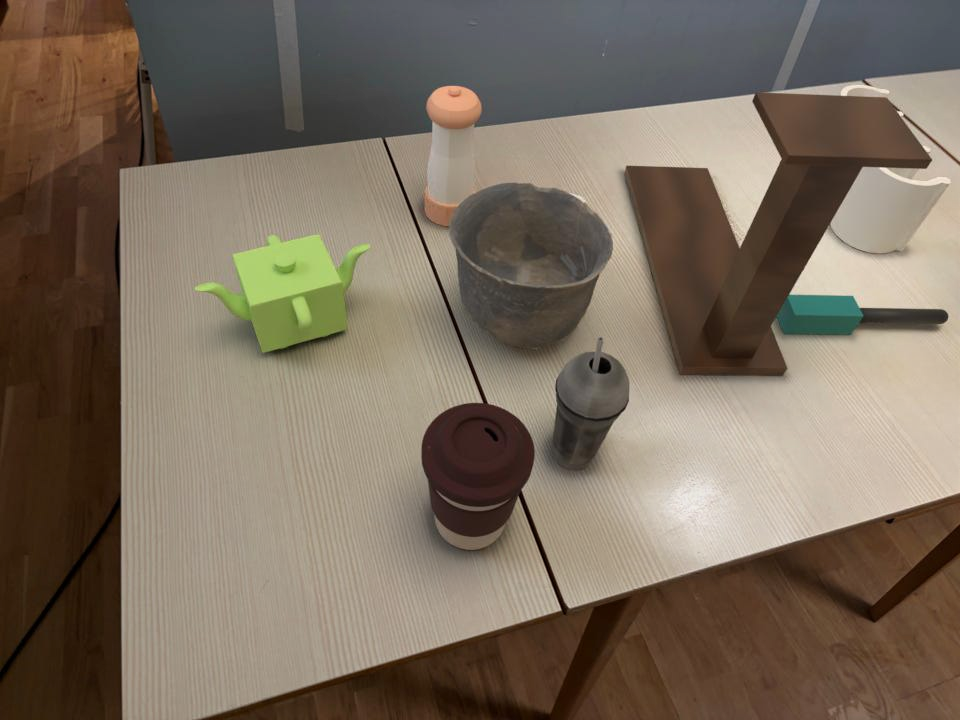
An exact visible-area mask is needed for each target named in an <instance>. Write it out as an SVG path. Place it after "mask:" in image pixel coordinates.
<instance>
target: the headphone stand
mask: <svg viewBox="0 0 960 720" xmlns="http://www.w3.org/2000/svg"><path fill="white" fill-rule="evenodd" d="M753 95H754V96H753V98H752V101H751V102H752V104H753V106H754V108H755V110H756V112H757V113H758V116H759V118H760V121H761V122H762V123H763V126H764V127H765V130H766V131H767V133H768V135H769V136H770V139H771V141H772V143H773V145H774V147H775V149H776V151H777V153H778V154H779V157H780V158H781V160H780V161H779V164H778V165H777V167H776V170H775V172H774V175H773V176H772V179H771V181H770V182H769V185H768V187H767V189H766V191H765V194H764V196H763V198H762V200H761V202H760V204H759V206H758V208H757V211H756V213H755V215H754V217H753V219H752V222H751V223H750V226H749V228H748V230H747V232H746V234H745V236H744V239H743V241H742V243H741V245H739V243H738V240H737V238H736V236H735V232H734V231H733V228H732V226H731V223H730V220H729V218H728V215H727V212H726V211H725V208H724V205H723V202H722V200H721V198H720V195H719V193H718V190H717V189H716V186H715V183H714V181H713V178H712V176H711V173H710V170H709V168H708V167H685V166H654V165H626V166H625V169H624V172H623V173H624V174H623V175H624V178H625V181H626V185H627V188H628V191H629V196H630V199H631V202H632V203H631V204H632V206H633V209H634V213H635V214H634V215H635V217H636V222H637V225H638V229H639V231H640V236H641V239H642V243H643V246H644V250H645V253H646V256H647V260H648V264H649V268H650V271H651V276H652V279H653V283H654V286H655V289H656V293H657V297H658V301H659V304H660V308H661V311H662V314H663V315H662V316H663V319H664V322H665V326H666V330H667V333H668V337H669V340H670V345H671V347H672V351H673V355H674V359H675V361H676V365H677V369H678V374H679V375H680V376H762V377H763V376H767V377H768V376H769V377H771V376H773V377H775V376H777V377H779V376H780V377H782V376H784V375H785V373H786V372H787V370H788V366H787V363H786V361H785V358H784V356H783V353H782V351H781V348H780V346H779V344H778V340H777V338H776V336H775V333H774V330H773V328H772V325H773V323H774V321H775V320H776V319H777V315H778V313H779V311H780V310H781V308H782V306H783V304H784V303H785V301H786V299H787V297H788V296H789V295H791V292H792V290H793V289H794V287H795V285H796V283H797V282H798V280H799V279H800V277H801V275H802V273H803V272H804V270H805V267H806V266H807V264H808V263H809V261H810V259H811V258H812V256H813V254H814V252H815V251H816V249H817V247H818V245H819V244H820V242H821V240H822V238H823V237H824V235H825V233H826V232H827V230H828V229H829V226H831V225H830V223H831V221H832V219H833V218H834V216H835V214H836V213H837V211H838V209H839V207H840V206H841V204H842V202H843V200H844V199H845V197H846V195H847V193H848V192H849V190H850V188H851V187H852V185H853V183H854V181H855V180H856V178H857V176H858V174H859V173H860V171H861V169H862V167H881V168H912V169H919V170H927V169H928V168H929V166H930V165H931V163H932V161H933V158H932V156H931V155H930V153H929V154H928V153H927V152H926V150H925V149H924V148H923V146H924V145H923V144H922V143H921V142H920V141H919V140H918V138H917V137H916V135H915V134H914V132H913V131H912V130H911V128H910V127H909V126H908V124H907V123H906V121H904V119H903V117H902V118H901V116H900V115H899V114H898V112H897V111H898V110H897V109H896V108H895V107H894V105H893V104H892V103H891V101H890V100H889V98H888V97H887V98H886V97H862V96H839V95H837V94H834V95H833V94H810V93H809V94H808V93H807V94H806V93H785V92H784V93H783V92H758V91H756V92H755V93H754V94H753ZM922 145H923V146H922Z"/></svg>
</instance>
